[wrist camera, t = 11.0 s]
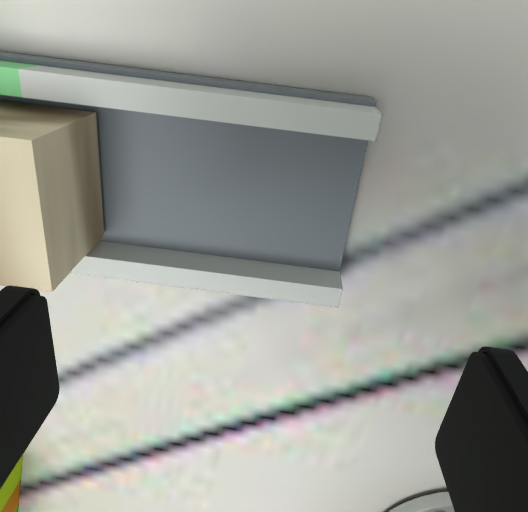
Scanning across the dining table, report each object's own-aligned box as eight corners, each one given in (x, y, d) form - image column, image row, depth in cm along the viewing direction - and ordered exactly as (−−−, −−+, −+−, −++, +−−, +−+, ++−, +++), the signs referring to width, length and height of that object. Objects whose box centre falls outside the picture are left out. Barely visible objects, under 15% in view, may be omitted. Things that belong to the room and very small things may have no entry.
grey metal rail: (371, 96, 19) (382, 108, 16) (333, 280, 23) (337, 311, 20) (-213, 24, 19) (-290, 24, 16) (-145, 219, 23) (-198, 242, 21)
